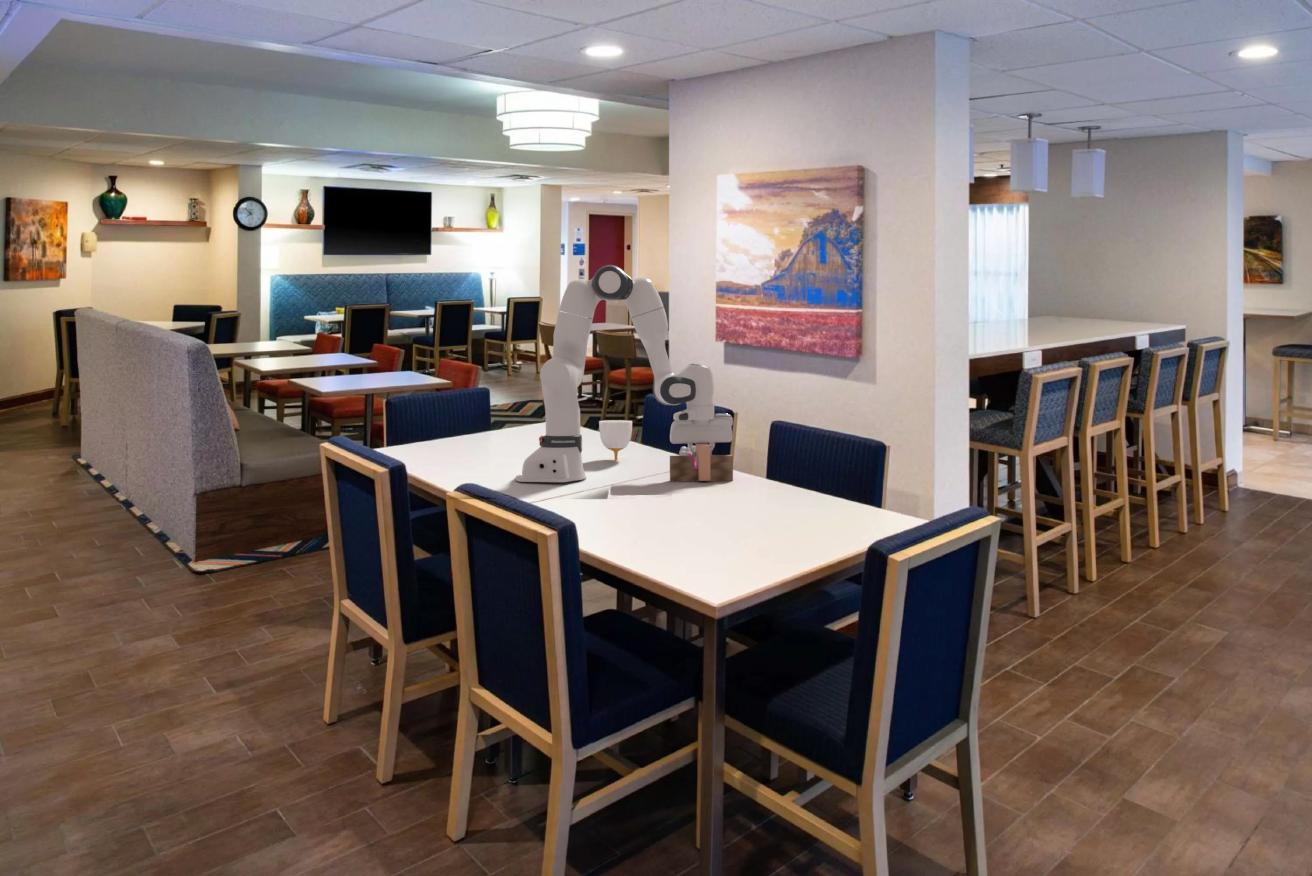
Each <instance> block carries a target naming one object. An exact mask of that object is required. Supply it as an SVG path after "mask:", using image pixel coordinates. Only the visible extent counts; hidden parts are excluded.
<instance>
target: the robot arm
mask: <svg viewBox="0 0 1312 876" xmlns="http://www.w3.org/2000/svg"><path fill="white" fill-rule="evenodd" d="M600 301H601V302H602V301H608V302H613V301H622V302H623V303H624V304H625V307H626V308H627V310H628V312H629V313H628V314H629V316H630V319H631V323H632V325H633V327H634V330H635V332H636V334H637V336H638V337H639V339H640V341H641V344H642V345H643V347H644V349H645V352H646V355H647V357H648V362H649V366H650V368H651V371H652V374H653V375H652V376H653V382H652V393H653V394H652V395H653V397H654V398H655V400H656V401H657V402H658V403H660V404H662V405H664V406H678V405H681V404H685V403H686V409H684V410H680V411H678V412H675V413H674V414H673V422H672V423H671V426H670V431H669V441H670V443H671V444H673V445H675V444H677V445H679V444H681V445H682V444H687V447H689V449H690V451H691V455H693V456H694V457H696V451H693V449H692V448H691V447H693V446H694V444H695V443H707V444H709V445H710V455H713V454H712V453H713V450H714V448H715V447H716V446H715V445H716V443H731V442H732V440H733V438H734V437H733V430H732V426H733V424H734V421H733V420H734V418H733V417H732V415H731V414H728V413H726V412H725V413H715V402H714V399H713V398H714V397H713V396H714V391H715V389H714V387H715V386H714V385H715V384H714V375H713V372H712V369H711V367H709V366H707V365H706V364H705V365H704V364H698V363H690V364H687V366H686V367H684V368H682V369H681V370H679V371H677V372H675V373H674V371H673V370H672V367H671V363H670V359H669V356H668V353H667V350H666V337H667V333H668V329H669V323H668V317H667V314H666V310H665V307H664V303H663V301H662V298H661V296H660V294H659V291H658V290H657V288H656V286H655V284H654V283H653V281H652V280H651V279H649V278H647V277H638V278H631V276H629V275H628V274H627V273H626V272H625V271H624V270H623V269H622V268H620V267H619V266H617V265H613V264H607V265H604V266H601V267H600V268H598V269H597V271H596V272H595V273H594V275H593V276H592V278H591V279H589V280H584V279H583V280H582V279H575V280H573V281H571V282H569V283H568V284H567V287H566V288H565V291H564V293H563V296H562V298H561V301H560V306H559V309H558V314H557V317H556V321H555V326H554V331H553V345H552V347H553V348H552V356H551V358H550V359H547V361H546V362H545V363H544V364H543V365H542V367H541V369H540V372H539V380H540V382H541V390H542V397H543V403H544V411H545V435H541V436H539V438H538V442H539V446H540V447H538V448H537V449H536V450H535V451H534V452H532V453H531V454H530V455H529V456H528V457H527V458H526V459H524V461H523V464H522V469H521V474H522V475H520V474H518V475H516V476H515V478H514V479H516V480H515V481H516V482H520V483H521V482H522V483H568V482H574V481H581V480H586V479H587V475H586V473H585V469H584V464H583V457H582V451H583V437H582V434H581V408H580V404H579V398H578V393H577V391H578V390H577V388H578V387H579V386H580V385H581V384H582V382H583V379H584V374H585V367H586V366H585V365H586V359H587V349H588V342H589V338H590V333H591V330H592V324H593V320H594V317H595V316H594V315H595V311H596V308H597V306H598V304H599V302H600Z"/></svg>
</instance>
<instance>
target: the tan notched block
mask: <svg viewBox="0 0 1312 876" xmlns="http://www.w3.org/2000/svg"><path fill="white" fill-rule="evenodd" d="M694 444H695V445H694V446H695V450H696V469H698V480H699V481H698V482H712V481H711V475H710V448H711V446H710V443H694Z"/></svg>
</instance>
